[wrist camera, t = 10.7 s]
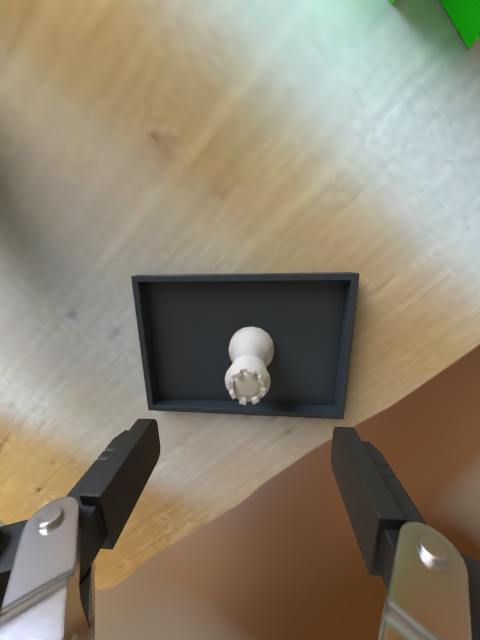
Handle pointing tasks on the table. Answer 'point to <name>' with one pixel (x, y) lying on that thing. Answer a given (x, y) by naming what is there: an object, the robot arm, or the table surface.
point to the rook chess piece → (249, 365)
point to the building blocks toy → (464, 18)
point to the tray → (229, 317)
